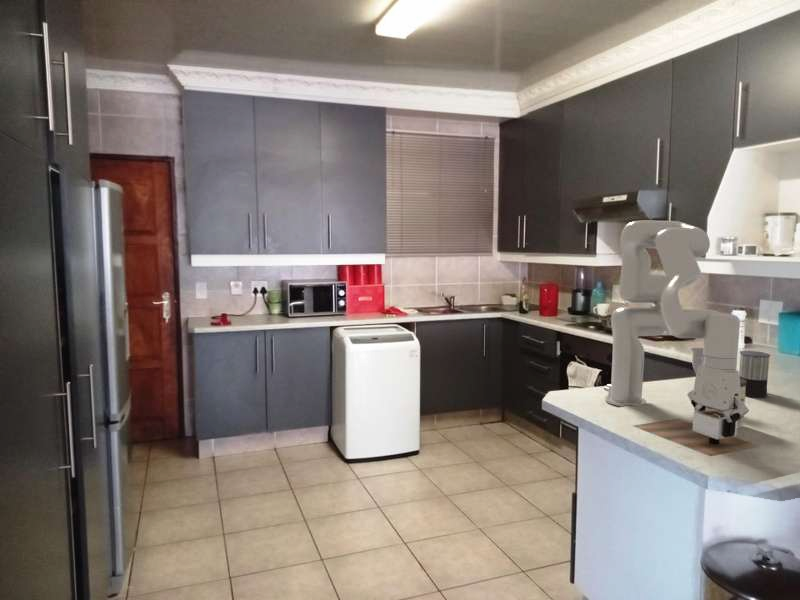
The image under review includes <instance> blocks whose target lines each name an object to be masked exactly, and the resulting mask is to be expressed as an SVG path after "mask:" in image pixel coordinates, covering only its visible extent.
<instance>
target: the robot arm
mask: <svg viewBox="0 0 800 600" xmlns="http://www.w3.org/2000/svg"><path fill="white" fill-rule="evenodd" d="M710 243H711V241H710V236H709V235H708V234H707V232H706V231H704V230H703V229H702V228H700V227H698V226H694V225H692V224H688V223H686V222H681V221H678V220H654V219H650V220H649V219H645V220H644V219H643V220H635V221H631V222H629V223H627V224H626V225H624V227H623V229H622V231H621V234H620V248H621V259H622V261H621V270H620V280H619V290H618V291H619V297H620V300H621V301H623V302H625V303H630V304H648V306H622V307H618V308H617V309H615V310H614V311H613V312H612V314H611V317H610V324H611V325H610V326H611V333H612V362H611V380H610V381H611V383H608V384H606V386H604V387H603V390H604V391H605V392H608V393H607V394H608V395H605V397H604V399H605V402H606V403H608V404H610V405H613V406H615V407H616V406H617V407H622V408H623V407H624V408H625V407H632V406H639V405H646V404H647V400H646V399H645V398H643V384H644V383H643V381H644V366H645V365H644V364H645V348H644V346H643V344H642V343H641V341H640V339H639V337H651V336H652V337H654V336H655V337H657V336H662V335H663V334H665V333H666V331H667V330H668V332H669V333H670V334H671V335H672V337H673V336H674V337H675V338H679V339H703V347H702V348H703V355H700V359H701V360H703V361H702V365H700V366H699V368H698V371H697V374H696V373H695V380H694V383H693V389H692V390H690V391H688V393H687V397H688V399H689V400H690V403H691V405H692V407H693V408H694V410H693V411H694V412H696V411H702V410H706V408H707V407H710V408H713V409H716V410H720V411H723V412H724V414H725V417H726V420H727V421H725V422H724V434H723V436H724V437H726V438H727V437H732V436H734V433H735V425H736V421H738V420H739V419H740V418H742V417H743V416H745V415H747V414H748V412H749V411H750V410H749V407H747V405H746V404H744V403H743V402H742V401H741V399H740V378H739V370H738V369H737V367H738V354H739V352H738V351H739V340H740V327H741V320H740V318H739V317H738V315H735V314H730V313H724V312H723V313H722V312H720V311H719V310H716V309H715V310H714V309H684V308H683V307H682V304H681V302H680V298H679V291H680V290H681V289H684V288H686V287H689V286H690V285H693V284H694V283H695V282H697V281H698V280H699V279H700V277H701V275H702V271H701V269H700V266H699V263H698V261H697V259H696V258H700V257H701V258H702V257H704V256H705V255H706V254H708V252H709V249H710V247H711V245H710ZM647 249H656V251H657V255H658V257H659V259H660V263H661V266H662V268H663V271H664V274H662V273H651V268H652V267H651V266H652V259H651V256H650V254H649V252H648V250H647ZM736 409H739V411H738V412H737V413H736ZM729 411H730V412H729ZM730 413H731V414H730ZM734 437H735V436H734Z"/></svg>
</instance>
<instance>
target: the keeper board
mask: <svg viewBox="0 0 800 600" xmlns="http://www.w3.org/2000/svg"><path fill="white" fill-rule="evenodd" d="M633 427H634V428H637V429H639V430H642V431H645V432H647V433H650V434H653V435H655V436H658V437H660V438H663V439H664V440H665V439H666V440H668V441H671V442H673V443H675V444H678V445H681V446H683V447H685V448H688V449H691V450H693V451H696V452H699V453H702V454H704V455H707V456H709V457H714V456H718V455H724V454H730V453H734V452H737V451H743V450H748V449H753V448H757V447H758V448H759V447H760V445H759V444H757V443H753V442H751V441H747V440H743V439H741V438H737V437H736V436H734V437H728V438H723V439H720V441H719V444H711V443H709V436H706V435H703V434H700V433H698V432H695V431H693V422H691V421H689V420H685V419H682V418H672V419H666V420H665V419H664V420H660V421H654V422H648V423H642V424H634V425H633Z"/></svg>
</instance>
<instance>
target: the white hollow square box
mask: <svg viewBox="0 0 800 600" xmlns="http://www.w3.org/2000/svg"><path fill="white" fill-rule="evenodd" d="M713 414H717V415H719V416H720V417H721V418H716V417H713V416H711V415H713ZM692 419H693V420H692V423H693V431H695V432H698V433H700V434H703V435H706V436H709V437H712V438H714V439H717V440H718V439H723V438H726V437H724V436H723V434H724V422H725V421H727V420H726V417H725V414H724V412H721V411H718V410H715V409H709V410H702V411H696V412H695V411H693V417H692ZM737 424H738V421H736V425H735V433H734V436H732V437H737V435H738V428H737ZM727 438H728V437H727Z"/></svg>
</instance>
